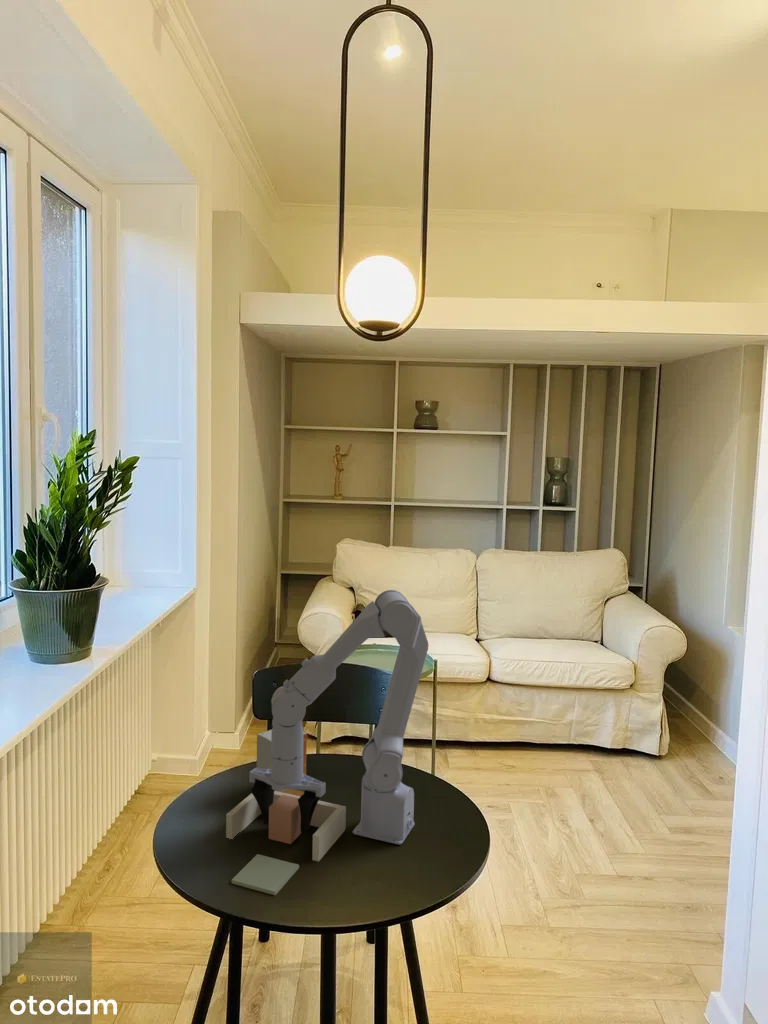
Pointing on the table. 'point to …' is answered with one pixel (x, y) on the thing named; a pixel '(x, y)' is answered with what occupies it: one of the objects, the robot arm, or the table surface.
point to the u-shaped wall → (324, 816)
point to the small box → (265, 756)
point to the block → (284, 819)
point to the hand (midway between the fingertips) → (286, 825)
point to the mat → (265, 874)
